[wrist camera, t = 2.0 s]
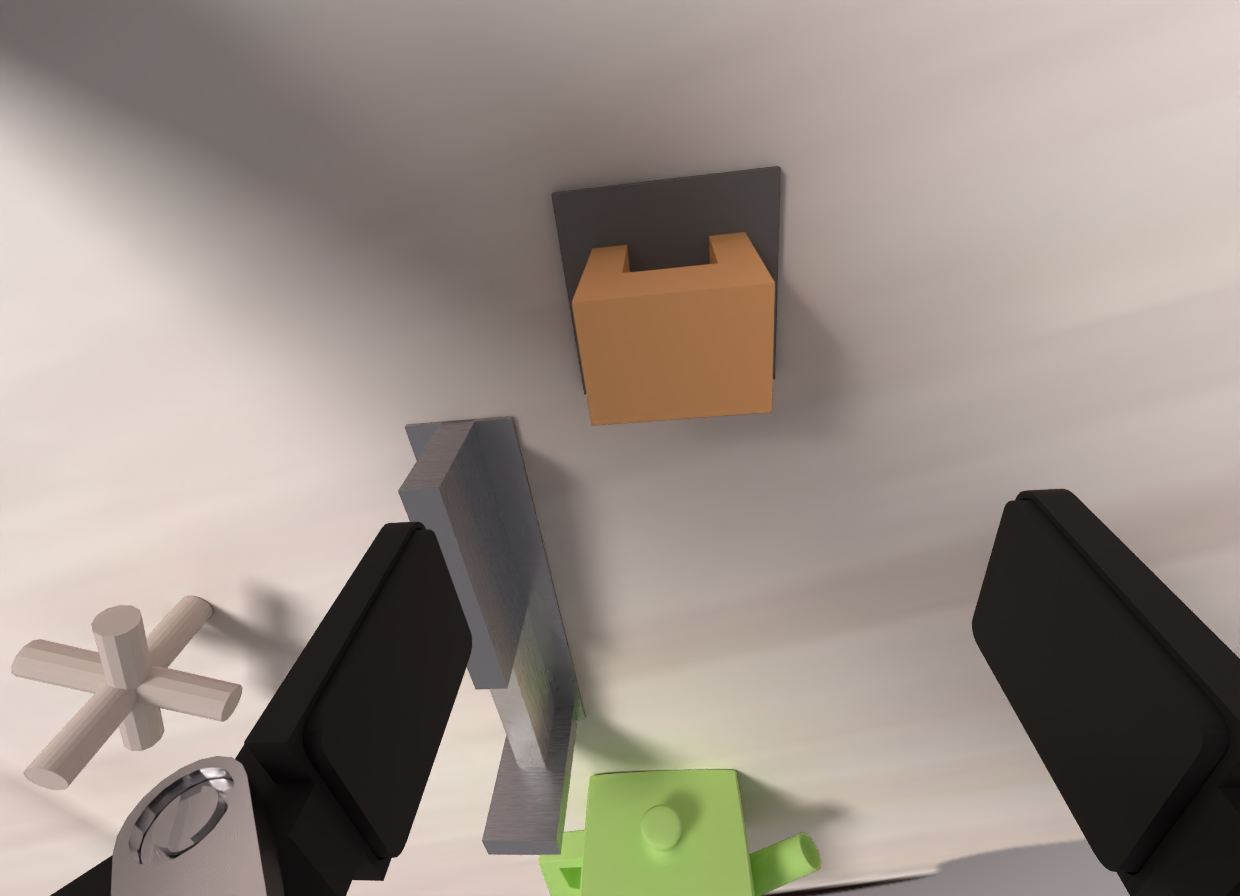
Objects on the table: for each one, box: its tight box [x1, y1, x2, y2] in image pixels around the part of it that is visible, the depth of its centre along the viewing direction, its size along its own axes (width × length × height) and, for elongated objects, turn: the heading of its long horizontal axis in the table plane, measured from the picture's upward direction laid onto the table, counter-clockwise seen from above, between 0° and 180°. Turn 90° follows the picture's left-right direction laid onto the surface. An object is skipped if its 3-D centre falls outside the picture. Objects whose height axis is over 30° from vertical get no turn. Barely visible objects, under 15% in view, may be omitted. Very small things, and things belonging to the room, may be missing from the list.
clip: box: [572, 232, 775, 426], centre depth 20 cm, size 4×6×6 cm
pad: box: [552, 166, 780, 395], centre depth 23 cm, size 8×8×1 cm
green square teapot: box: [539, 769, 821, 896], centre depth 38 cm, size 18×10×10 cm, turn 98°
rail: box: [398, 417, 585, 855], centre depth 29 cm, size 22×5×8 cm, turn 7°
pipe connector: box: [12, 596, 242, 790], centre depth 30 cm, size 10×10×10 cm
